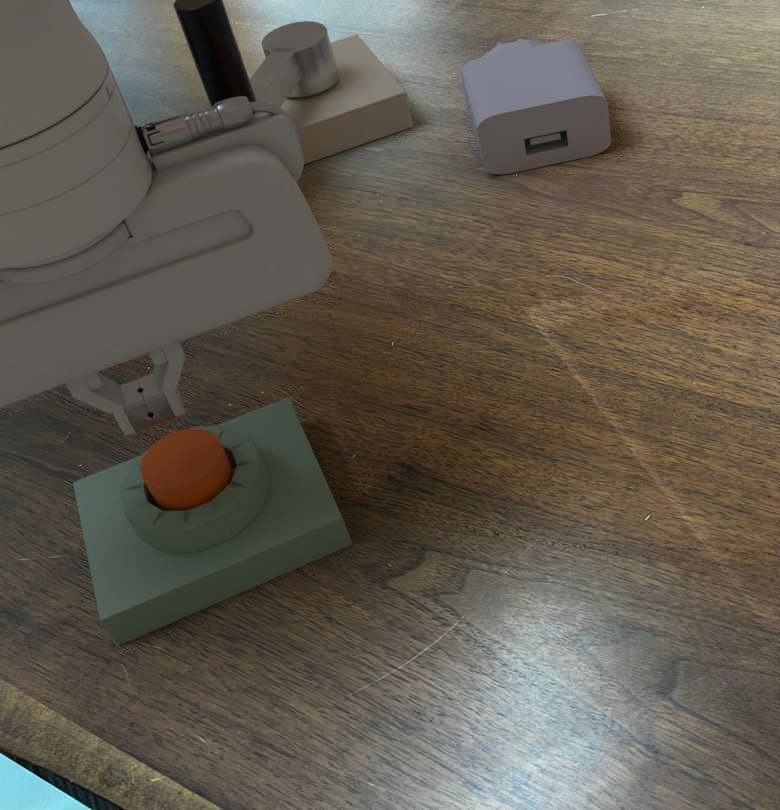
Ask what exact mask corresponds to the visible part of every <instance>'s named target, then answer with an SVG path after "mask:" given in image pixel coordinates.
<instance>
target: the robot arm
mask: <svg viewBox="0 0 780 810" xmlns="http://www.w3.org/2000/svg"><path fill="white" fill-rule="evenodd" d="M253 112H265V113H262V114H259V115H255V116H254V113H253ZM130 113H131V112H130V111H129V108H128V106H127V104H126V101H125V99H124V96H123V94H122V92H121V90H120V87H119V85H118V83H117V80H116V78H115V76H114V73H113V70H112V69H111V66H110V64H109V62H108V59H107V56H106V53H105V52H104V50H103V49H102V47H101V45H100V44H99V42H98V40H97V39H96V38H95V36H94V35H93V34H92V33H91V32H90V31H89V29H88V28H87V27H86V25H85V24H84V23H83V22H82V20H81V19H80V18H79V16H78V15H77V13H76V11H75V9H74V7H73V5H72V3H71V1H70V0H0V409H1V408H4V407H7V406H8V405H12V404H14V403H17V402H20V401H22V400H26V399H29V398H31V397H33V396H36V395H38V394H42V393H44V392H47V391H49V390H52V389H55V388H58V387H61V386H64V385H65V386H66V389H67V391H68V392H69V393H70V395H71V397H72V398H73V399H75V400H77V401H79V402H81V403H83V404H85V405H88V406H90V407H93V408H95V409H97V410H99V411H101V412H103V413H106V414H108V415H112V416H113V418H114V419H115V421H116V422H117V425H118V426H119V427H120V430H121V431H122V433H123V435H124V436H125V437H128V436H130V435H133V434H135V433H139V432H142V431H144V430H147V429H148V428H152V427H154V426H157V425H158V424H161V423H164V422H166V421H170V420H172V419H175V418H177V417H180V416H183V415H185V414H187V411H186V408H185V404H184V401H183V399H182V396H181V393H180V391H179V388H178V387H179V383H180V379H181V375H182V372H183V368H184V363H185V360H186V354H185V351H184V348H183V345H182V341H186V340H188V339H191V338H193V337H197V336H199V335H202V334H204V333H208V332H210V331H212V330H216V329H218V328H221V327H224V326H226V325H229V324H232V323H235V322H237V321H239V320H243V319H245V318H248V317H251V316H253V315H257V314H259V313H262V312H264V311H267V310H270V309H272V308H275V307H278V306H280V305H284V304H286V303H289V302H291V301H294V300H297V299H300V298H303V297H305V296H308V295H310V294H313V293H316V292H318V291H320V290H322V289H323V288H324V287H325V285H326V283H327V281H328V280H329V278H330V275H331V272H332V271H333V267H334V261H333V258H332V254H331V252H330V249H329V246H328V244H327V241H326V238H325V237H324V234H323V232H322V230H321V227H320V225H319V223H318V220H317V219H316V217H315V214H314V212H313V210H312V209H311V207H310V205H309V203H308V201H307V199H306V198H305V196H304V194H303V192H302V191H301V188H300V187H299V185H298V181H299V180H300V179H301V177H302V174H303V171H304V168H305V167H304V166H305V164H304V151H303V148H302V145H301V142H300V138H299V135H298V132H297V129H296V125H295V123H294V121H293V120H292V118H291V117H290V116H289V114H288V113H286V112H285V111H284V110H283V109H281V108H280V107H278V106H276V105H274V104H271V103H267V102H249V100H248V98H247V97H246V96H240V97H233V98H229V99H225V100H222V101H220V102H217V103H215V106H212V107H211V106H209V107H206V108H204V109H199V110H197V111H193V112H192V111H191V112H185V113H183V114H182V113H181V114H177V115H172V116H169V117H166V118H162V119H159V120H157V121H153V122H150V123H146V124H144V125H140V126H137V125H135V124H134V120H133V119H132V116H131V114H130ZM147 354H148V355H149V357H150V359H151V361H152V363H153V365H154V366H153V372H152V373H149V374H146V375H144V376H141V377H139V378H136V379H133V380H131V381H128V382H125V383H122V384H120V383H119V382H117V381H115V380H113V379H111V378H109V377H108V376H106V375H104V374H102V373H101V371H105V370H108V369H109V368H112V367H115V366H117V365H120V364H123V363H127V362H128V361H131V360H134V359H136V358H140V357H143V356H145V355H147Z"/></svg>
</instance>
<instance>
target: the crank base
mask: <svg viewBox="0 0 780 810" xmlns="http://www.w3.org/2000/svg"><path fill="white" fill-rule="evenodd" d="M330 43H331V46H332V50H333V54H334V57H335V61H336V64H337V68H338V72H339V78H338V80H337V81H336V83H335V84H334V85H333V86H331V87H330V88H328V89H326V90H325V91H322V92H320V93H317V94H314V95H311V96H306V97H287V99H286V100H285V102H284V103H283V104H282V106H281V107H280V108H281V109H283V110H284V111H285V112H286V113H288V114H289V116H290V117H291V118H292V120H293V121H294V123H295V125H296V129H297V132H298V135H299V138H300V142H301V145H302V148H303V151H304V165H308V164H310V163H313V162H316V161H318V160H321V159H324V158H328V157H330V156H333V155H335V154H338V153H341V152H344V151H347V150H351V149H353V148H356V147H359V146H362V145H364V144H367V143H370V142H373V141H377V140H380V139H382V138H385V137H389V136H390V135H393V134H396V133H399V132H402V131H406V130H407V129H411V128H413V127H414V121H413V116H412V112H411V107H410V103H409V99H408V94H407V91H406V90H405V89H404V88H403V86H402V85H401V83H399V82H398V80H397V79H396V78H395V76H394V75H393V74H391V72H390V71H389V70H388V68H386V67H385V65H384V63H382V61H380V59H379V58H378V57H377V56H376V55H375V53H374V52H373V51H372V50H371V49H370V47H369V46H368V45H367V44H366V43H365V41H364V40H363V39H362V38H361V36H360V35H358V33H356V34H352V35H350V36H346V37H344V38H341V39H337V40H334V41H330ZM259 67H260V65H257V66H254V67H251V68H248V69H246V71H247V74H248V77H249V80H250V78H251V77H252V76H253V74H254V73H255V72H256V70H257V69H258V68H259Z"/></svg>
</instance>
